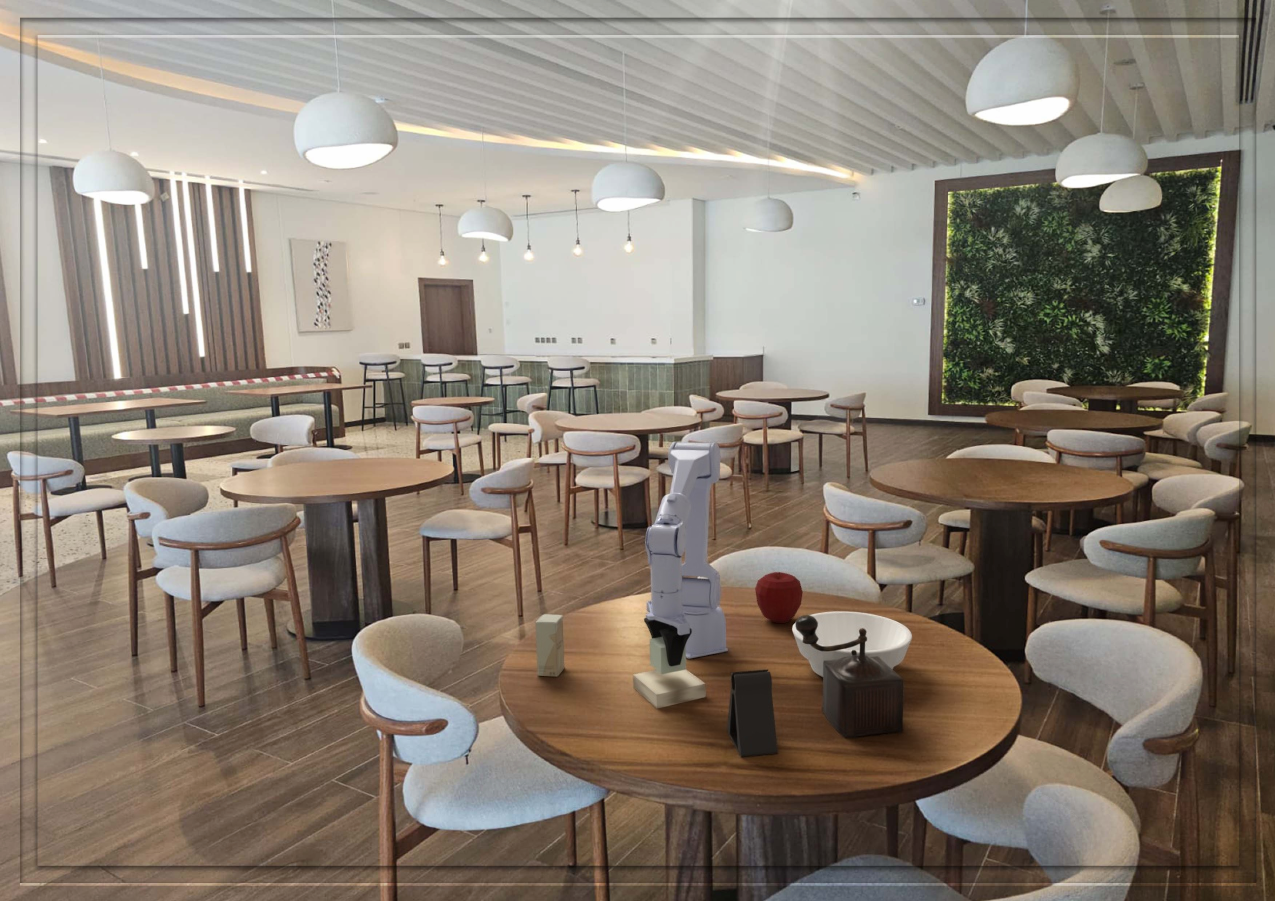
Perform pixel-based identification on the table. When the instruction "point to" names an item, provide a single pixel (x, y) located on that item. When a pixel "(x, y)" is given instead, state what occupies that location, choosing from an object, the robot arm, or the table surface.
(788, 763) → the table surface
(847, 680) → the manual coffee grinder
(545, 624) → the box
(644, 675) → the birch block
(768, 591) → the apple
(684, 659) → the sage cube
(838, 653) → the bowl
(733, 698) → the phone stand
